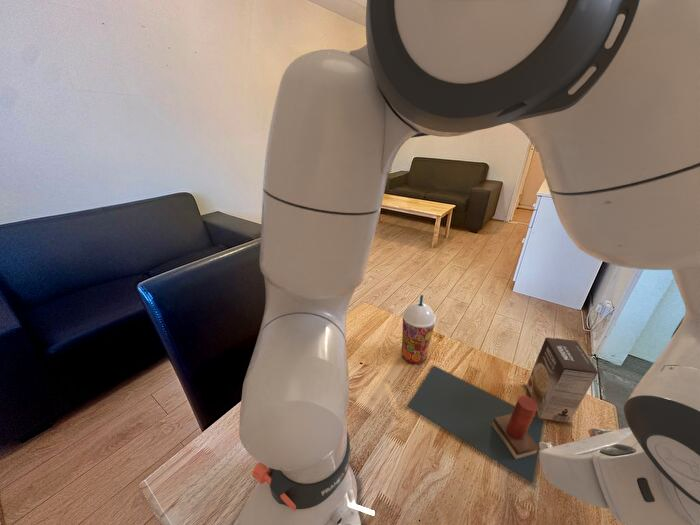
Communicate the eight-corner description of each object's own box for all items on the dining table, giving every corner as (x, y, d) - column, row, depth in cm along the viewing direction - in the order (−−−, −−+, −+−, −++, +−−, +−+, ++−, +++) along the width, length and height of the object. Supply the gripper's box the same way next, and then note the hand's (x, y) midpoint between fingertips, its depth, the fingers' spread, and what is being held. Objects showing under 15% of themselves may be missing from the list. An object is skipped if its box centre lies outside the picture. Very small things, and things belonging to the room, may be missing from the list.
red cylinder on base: (535, 454, 55) (553, 417, 50) (515, 459, 54) (531, 423, 49) (510, 420, 61) (524, 385, 56) (491, 425, 61) (504, 389, 56)
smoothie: (392, 355, 79) (397, 295, 70) (410, 341, 84) (417, 283, 75) (417, 372, 74) (426, 310, 65) (435, 356, 79) (446, 296, 70)
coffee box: (524, 385, 70) (544, 335, 63) (552, 390, 69) (576, 339, 62) (538, 420, 62) (563, 367, 55) (570, 425, 61) (600, 372, 54)
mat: (531, 485, 51) (532, 483, 51) (406, 407, 65) (407, 406, 65) (542, 422, 62) (543, 420, 61) (433, 367, 75) (433, 365, 75)
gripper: (726, 423, 35) (612, 406, 48) (591, 461, 31) (507, 431, 44) (755, 483, 33) (629, 448, 46) (615, 531, 29) (520, 478, 42)
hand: (568, 440), depth 45 cm, fingers open, 8 cm apart
